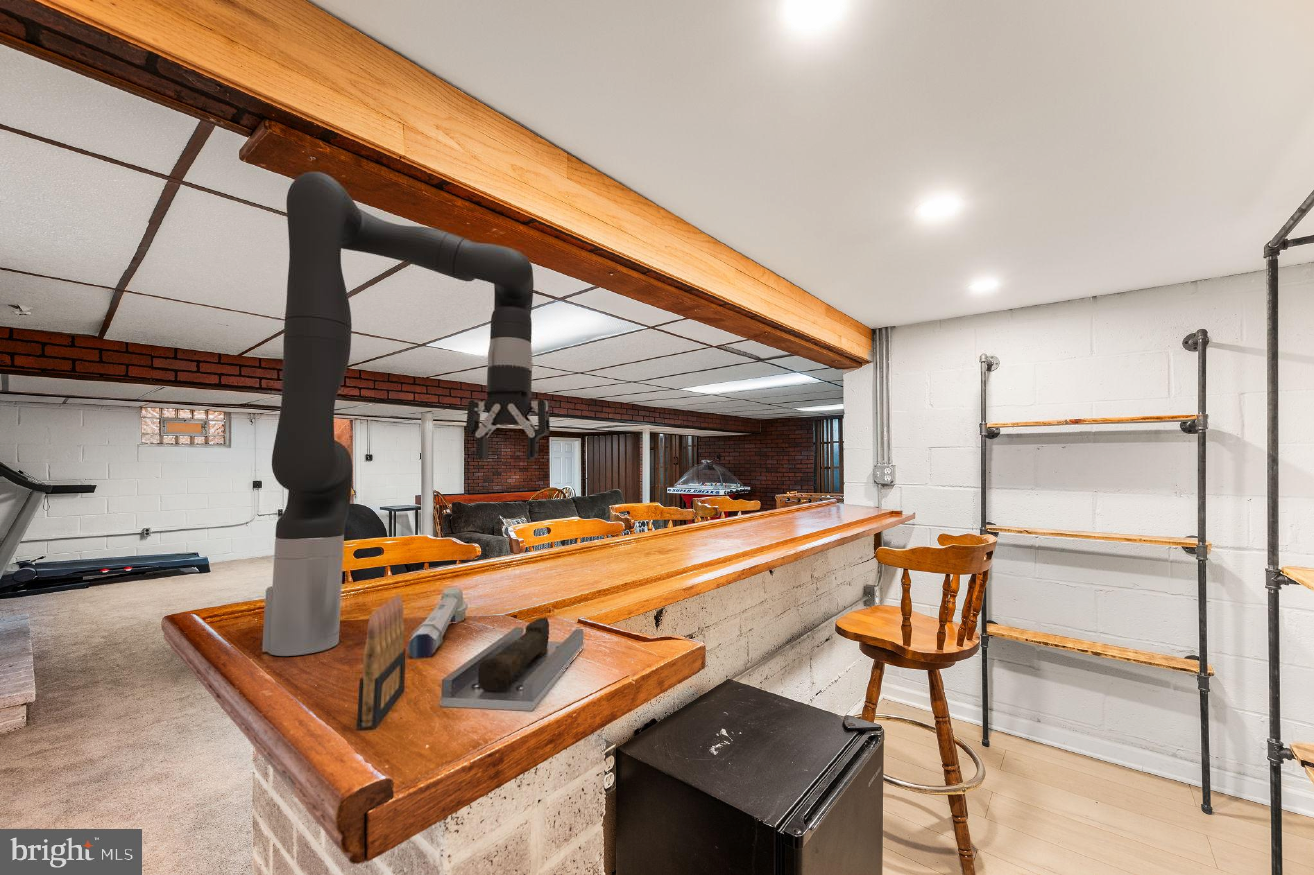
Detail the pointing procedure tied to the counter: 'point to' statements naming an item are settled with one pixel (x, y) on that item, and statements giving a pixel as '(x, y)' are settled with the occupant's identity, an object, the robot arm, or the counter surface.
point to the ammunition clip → (382, 665)
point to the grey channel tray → (524, 685)
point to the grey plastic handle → (437, 623)
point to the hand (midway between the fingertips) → (506, 460)
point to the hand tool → (514, 657)
